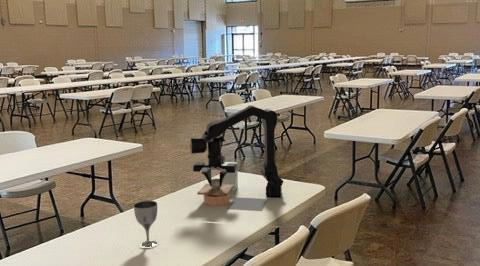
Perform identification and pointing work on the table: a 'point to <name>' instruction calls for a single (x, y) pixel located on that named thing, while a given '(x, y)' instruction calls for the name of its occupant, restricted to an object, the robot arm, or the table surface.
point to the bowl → (216, 200)
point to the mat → (248, 204)
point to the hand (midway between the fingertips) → (216, 186)
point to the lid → (215, 188)
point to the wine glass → (146, 217)
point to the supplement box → (231, 178)
